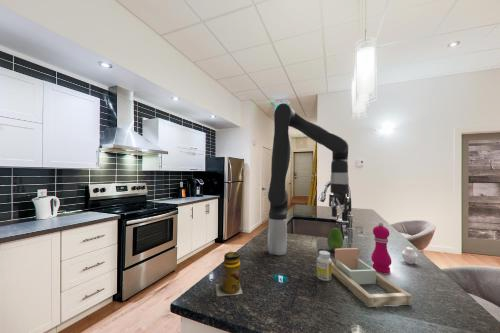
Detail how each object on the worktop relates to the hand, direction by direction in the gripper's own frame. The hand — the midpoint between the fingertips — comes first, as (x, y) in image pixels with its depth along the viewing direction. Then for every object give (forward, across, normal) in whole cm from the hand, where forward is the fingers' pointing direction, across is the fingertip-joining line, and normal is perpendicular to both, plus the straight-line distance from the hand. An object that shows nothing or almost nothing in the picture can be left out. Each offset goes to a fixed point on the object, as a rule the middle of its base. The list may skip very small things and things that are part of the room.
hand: (339, 218), depth 93 cm
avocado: (+20, -16, +7) cm, 27 cm away
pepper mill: (+20, +7, +15) cm, 26 cm away
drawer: (+20, +12, 0) cm, 23 cm away
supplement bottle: (+20, +11, -12) cm, 26 cm away
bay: (+20, +17, 0) cm, 26 cm away
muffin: (+20, +2, +34) cm, 39 cm away
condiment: (+21, +15, -50) cm, 56 cm away
